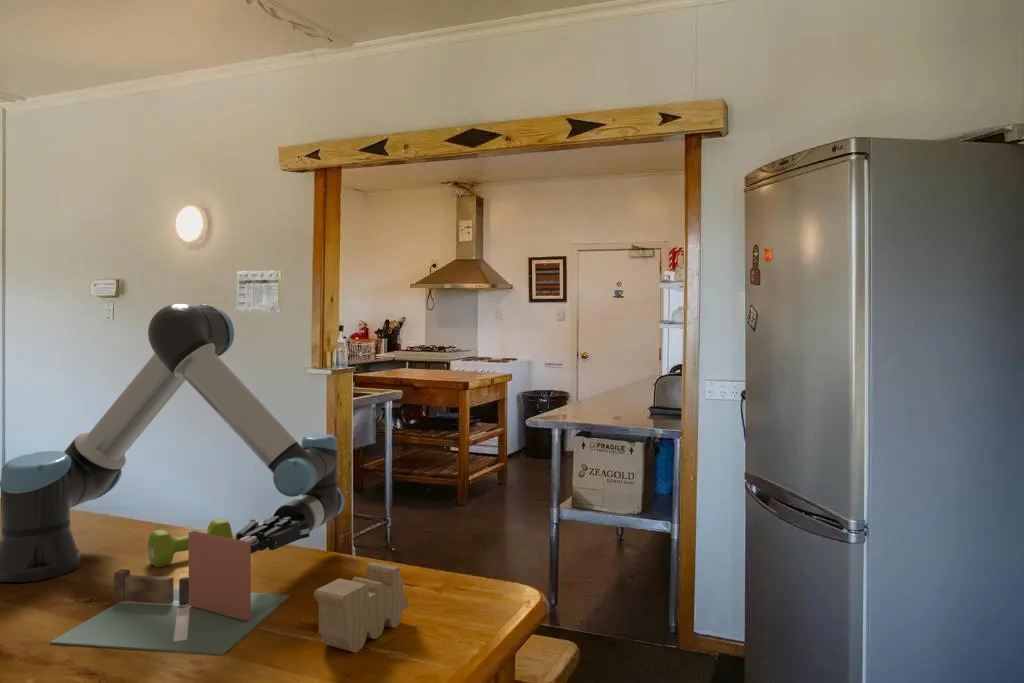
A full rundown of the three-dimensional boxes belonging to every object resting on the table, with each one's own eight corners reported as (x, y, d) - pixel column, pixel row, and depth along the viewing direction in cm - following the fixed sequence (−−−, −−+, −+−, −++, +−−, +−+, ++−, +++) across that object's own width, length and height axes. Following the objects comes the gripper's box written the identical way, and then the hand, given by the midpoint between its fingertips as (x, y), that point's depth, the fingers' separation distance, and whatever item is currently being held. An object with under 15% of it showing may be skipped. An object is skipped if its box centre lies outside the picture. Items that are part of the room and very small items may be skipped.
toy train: (408, 620, 121) (408, 562, 121) (341, 661, 106) (341, 596, 106) (382, 613, 123) (382, 557, 123) (313, 653, 108) (313, 589, 108)
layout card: (50, 643, 111) (50, 641, 111) (145, 588, 134) (145, 586, 134) (223, 655, 108) (223, 653, 107) (289, 596, 131) (289, 594, 131)
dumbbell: (156, 572, 143) (156, 537, 143) (143, 562, 149) (143, 529, 149) (236, 554, 155) (236, 521, 155) (221, 546, 161) (221, 514, 161)
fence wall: (114, 603, 127) (114, 572, 127) (121, 599, 129) (121, 569, 129) (185, 607, 125) (185, 576, 125) (191, 603, 127) (191, 572, 127)
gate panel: (188, 605, 125) (188, 532, 125) (194, 602, 126) (194, 530, 126) (245, 620, 119) (245, 544, 118) (250, 618, 120) (250, 542, 119)
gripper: (328, 538, 144) (266, 579, 121) (268, 534, 147) (196, 573, 124) (328, 502, 144) (266, 535, 121) (268, 498, 147) (196, 530, 123)
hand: (231, 554), depth 122 cm, fingers closed
